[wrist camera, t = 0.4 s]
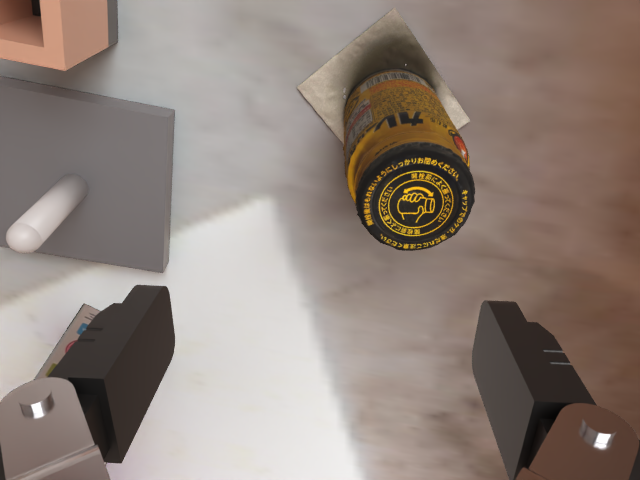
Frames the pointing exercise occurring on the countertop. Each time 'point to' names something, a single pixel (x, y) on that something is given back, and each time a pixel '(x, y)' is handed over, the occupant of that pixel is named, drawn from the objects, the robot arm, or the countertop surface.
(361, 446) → the countertop surface
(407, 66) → the condiment
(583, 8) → the countertop surface
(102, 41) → the sleeve
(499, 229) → the countertop surface
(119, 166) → the pin board
